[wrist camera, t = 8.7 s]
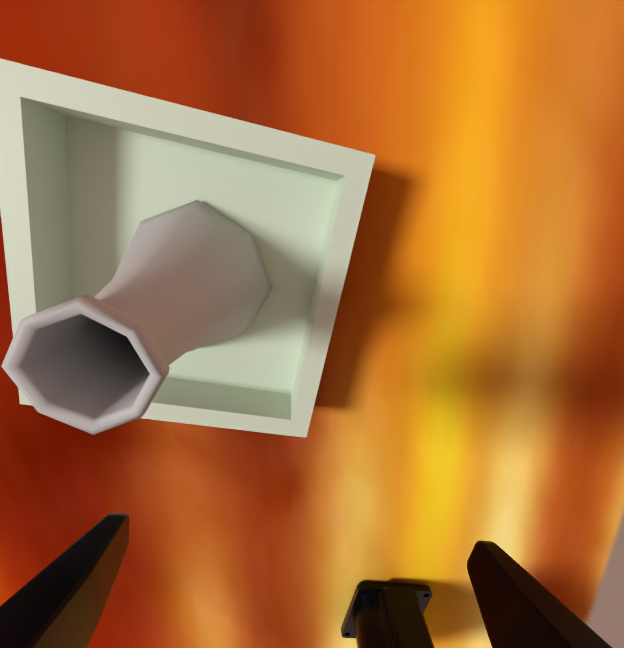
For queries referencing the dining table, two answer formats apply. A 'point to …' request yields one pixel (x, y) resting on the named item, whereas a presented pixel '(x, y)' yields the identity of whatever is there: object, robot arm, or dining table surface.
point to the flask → (140, 320)
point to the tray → (168, 193)
